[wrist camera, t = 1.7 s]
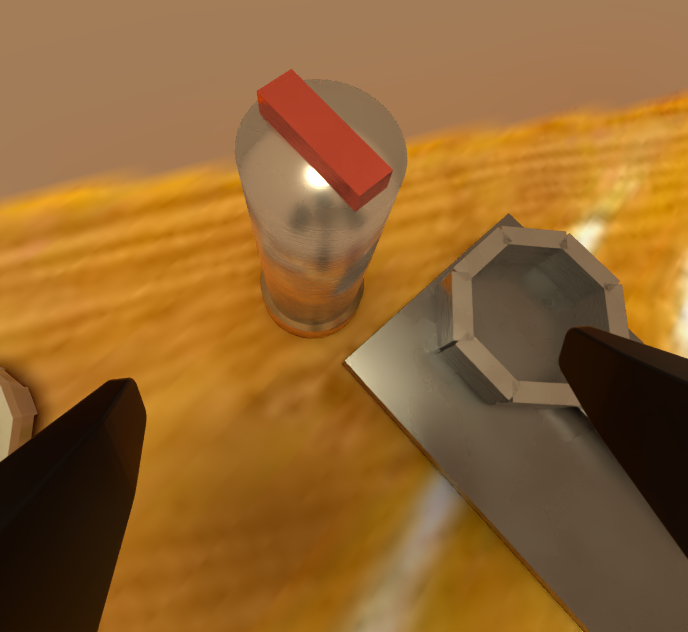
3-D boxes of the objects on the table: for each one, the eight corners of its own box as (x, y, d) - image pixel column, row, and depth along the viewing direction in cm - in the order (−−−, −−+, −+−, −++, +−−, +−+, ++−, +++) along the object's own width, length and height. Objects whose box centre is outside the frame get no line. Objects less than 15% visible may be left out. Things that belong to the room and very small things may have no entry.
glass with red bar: (378, 296, 24) (466, 144, 11) (307, 358, 23) (315, 266, 10) (316, 230, 25) (331, 17, 12) (243, 286, 23) (173, 114, 11)
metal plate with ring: (768, 483, 23) (865, 495, 19) (633, 686, 20) (717, 751, 16) (499, 222, 26) (535, 184, 22) (342, 364, 23) (351, 350, 19)
